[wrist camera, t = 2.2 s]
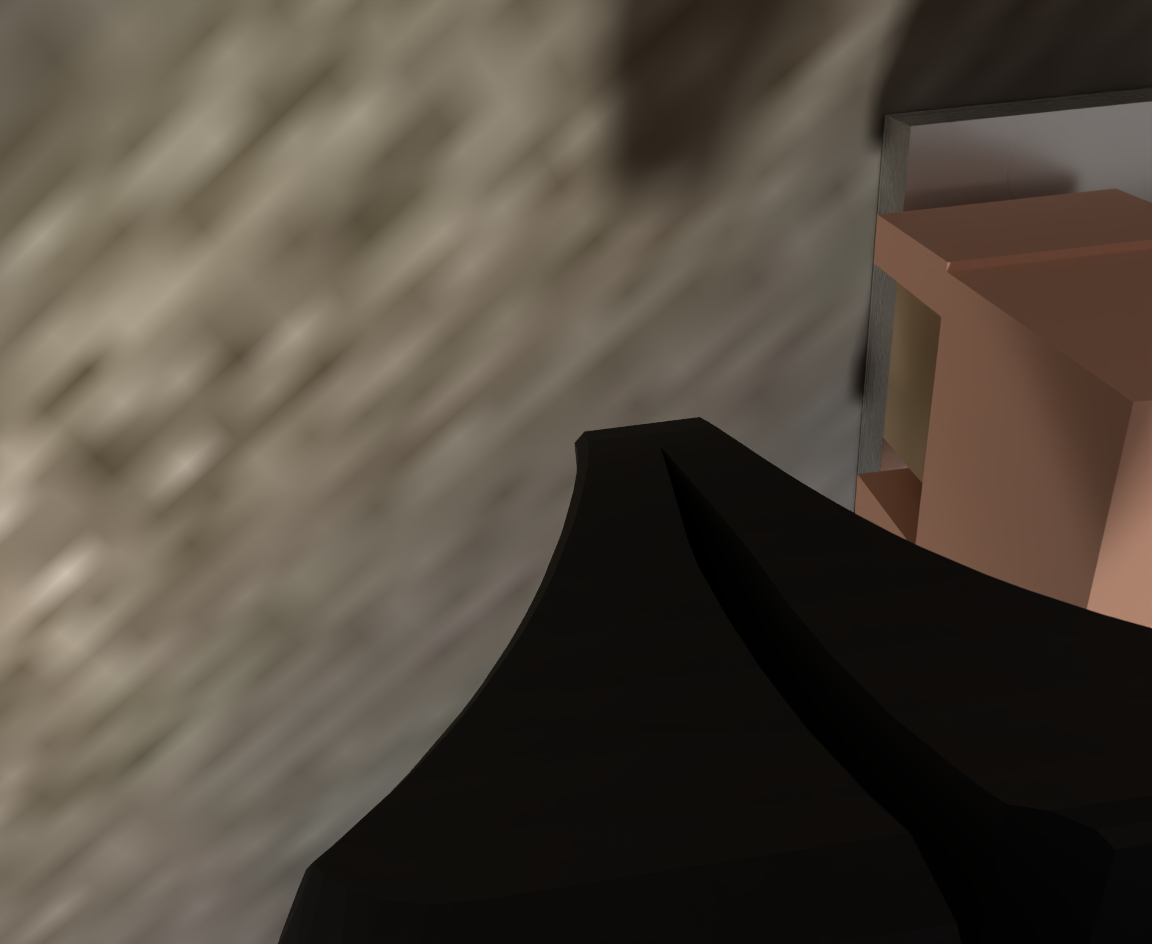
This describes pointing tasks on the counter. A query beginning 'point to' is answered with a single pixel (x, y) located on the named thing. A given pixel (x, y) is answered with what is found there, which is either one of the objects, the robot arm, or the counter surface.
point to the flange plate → (994, 188)
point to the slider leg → (1032, 395)
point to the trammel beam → (911, 379)
